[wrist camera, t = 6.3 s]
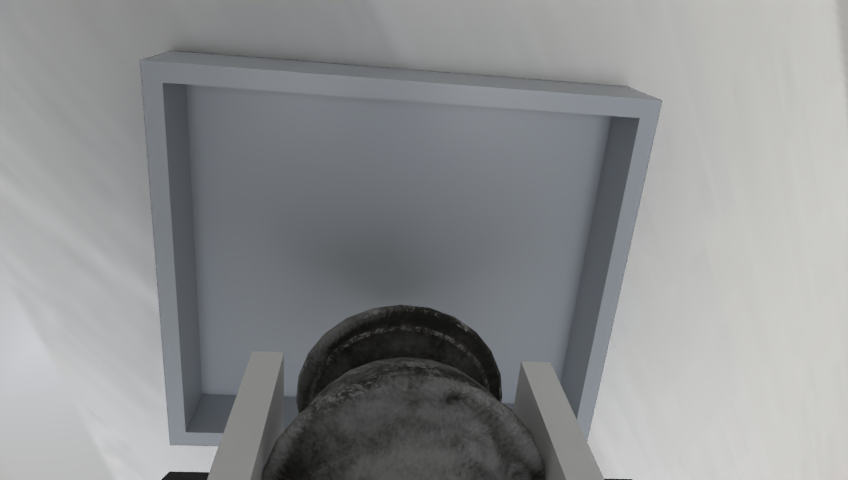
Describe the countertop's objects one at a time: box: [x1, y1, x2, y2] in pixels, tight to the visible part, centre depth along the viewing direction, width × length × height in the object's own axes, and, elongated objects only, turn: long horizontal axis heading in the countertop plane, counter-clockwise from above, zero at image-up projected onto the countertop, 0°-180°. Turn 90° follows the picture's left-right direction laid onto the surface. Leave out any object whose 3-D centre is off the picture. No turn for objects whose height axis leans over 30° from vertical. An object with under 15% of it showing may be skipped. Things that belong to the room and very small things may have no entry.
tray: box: [140, 51, 662, 446], centre depth 23 cm, size 14×16×3 cm
